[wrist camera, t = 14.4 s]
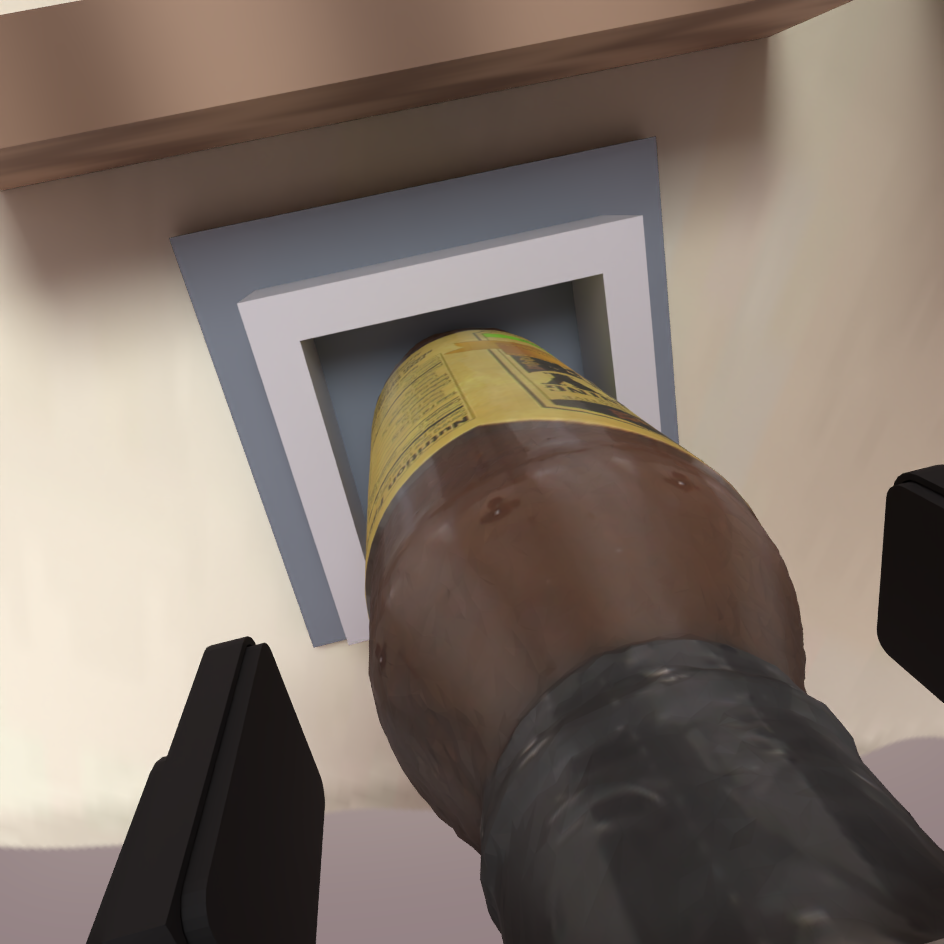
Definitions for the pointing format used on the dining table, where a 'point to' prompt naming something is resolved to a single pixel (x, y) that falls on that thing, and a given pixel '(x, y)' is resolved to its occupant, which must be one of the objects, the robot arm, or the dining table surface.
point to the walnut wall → (308, 65)
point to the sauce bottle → (611, 674)
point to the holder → (419, 327)
